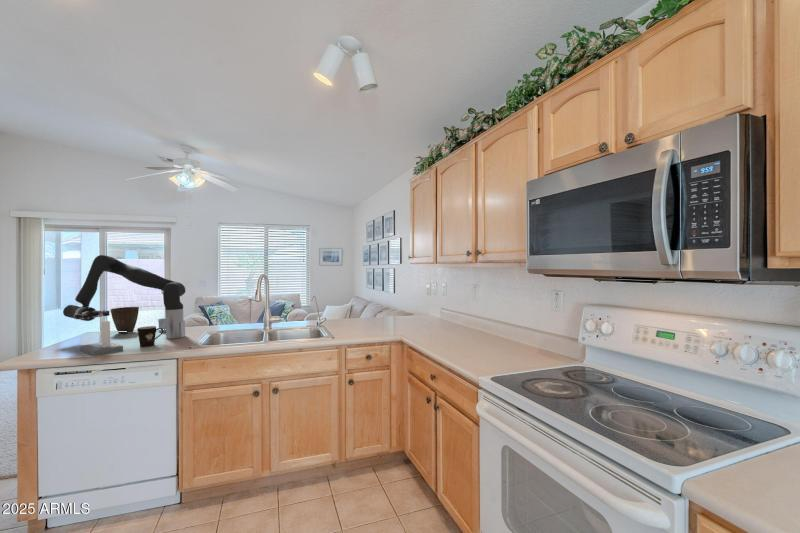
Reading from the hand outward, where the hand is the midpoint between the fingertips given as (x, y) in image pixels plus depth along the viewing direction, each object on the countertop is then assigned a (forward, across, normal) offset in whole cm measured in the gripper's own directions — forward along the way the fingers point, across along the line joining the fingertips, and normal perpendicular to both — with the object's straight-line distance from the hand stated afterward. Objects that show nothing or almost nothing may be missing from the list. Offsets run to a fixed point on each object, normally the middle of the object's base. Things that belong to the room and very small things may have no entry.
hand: (96, 315), depth 195 cm
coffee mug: (+14, +19, +19) cm, 30 cm away
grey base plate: (+5, 0, +18) cm, 19 cm away
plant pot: (-40, +26, +18) cm, 51 cm away
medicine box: (-23, +44, +18) cm, 53 cm away
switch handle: (+11, 0, +15) cm, 19 cm away
